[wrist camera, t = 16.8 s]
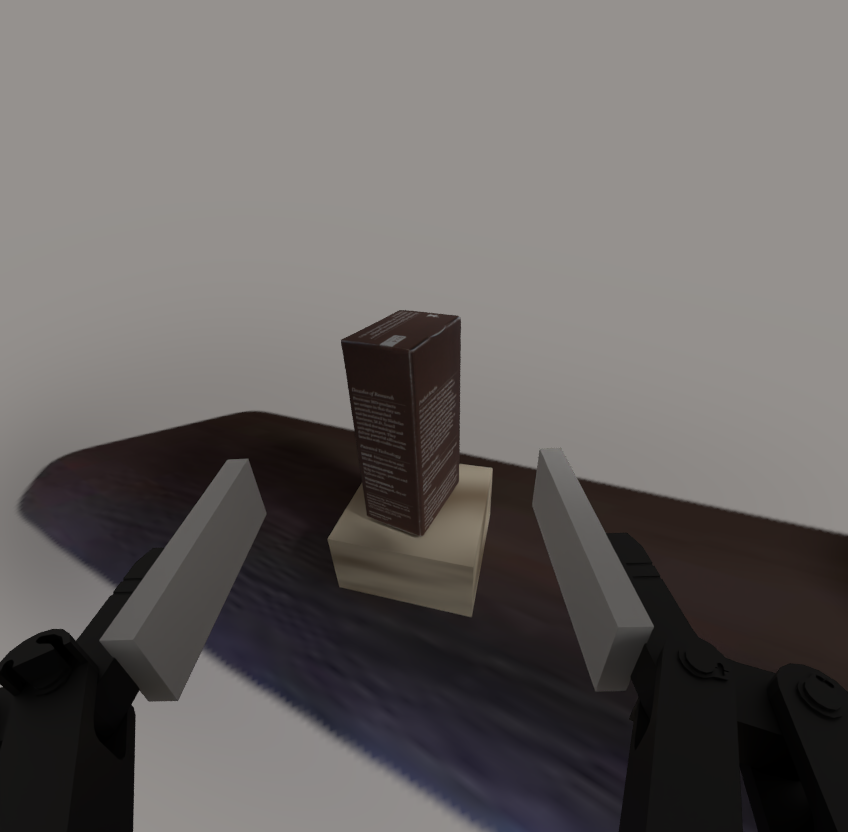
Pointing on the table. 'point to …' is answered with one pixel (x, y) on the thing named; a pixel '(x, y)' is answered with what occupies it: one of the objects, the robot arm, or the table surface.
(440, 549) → the ash block
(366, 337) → the box
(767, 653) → the table surface
